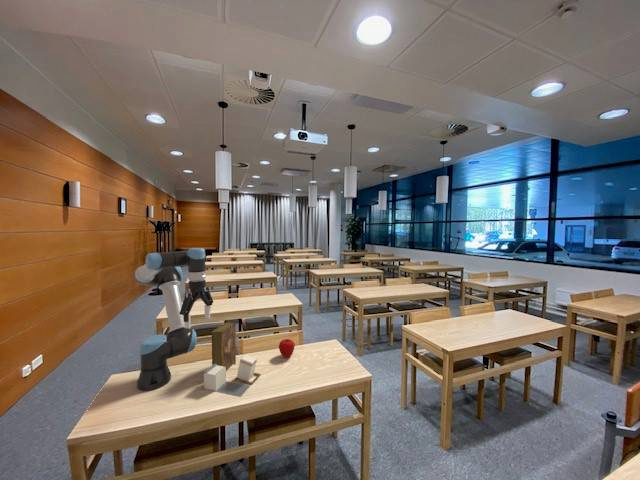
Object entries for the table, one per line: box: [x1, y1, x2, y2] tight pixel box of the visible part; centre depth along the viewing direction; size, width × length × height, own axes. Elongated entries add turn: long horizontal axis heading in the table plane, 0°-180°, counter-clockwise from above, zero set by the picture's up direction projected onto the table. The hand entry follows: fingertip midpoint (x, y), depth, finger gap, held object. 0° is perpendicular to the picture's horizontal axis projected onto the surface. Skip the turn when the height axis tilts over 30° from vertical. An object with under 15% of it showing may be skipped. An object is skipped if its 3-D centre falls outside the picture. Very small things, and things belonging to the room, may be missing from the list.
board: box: [201, 380, 251, 398], centre depth 133 cm, size 22×9×1 cm, turn 74°
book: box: [211, 320, 237, 372], centre depth 151 cm, size 16×6×25 cm, turn 168°
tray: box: [233, 372, 261, 385], centre depth 141 cm, size 11×9×2 cm
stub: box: [236, 353, 258, 382], centre depth 141 cm, size 7×5×11 cm
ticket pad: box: [203, 364, 227, 392], centre depth 135 cm, size 7×8×9 cm
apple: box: [278, 338, 296, 358], centre depth 167 cm, size 10×10×11 cm
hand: (198, 322), depth 130 cm, fingers open, 13 cm apart
